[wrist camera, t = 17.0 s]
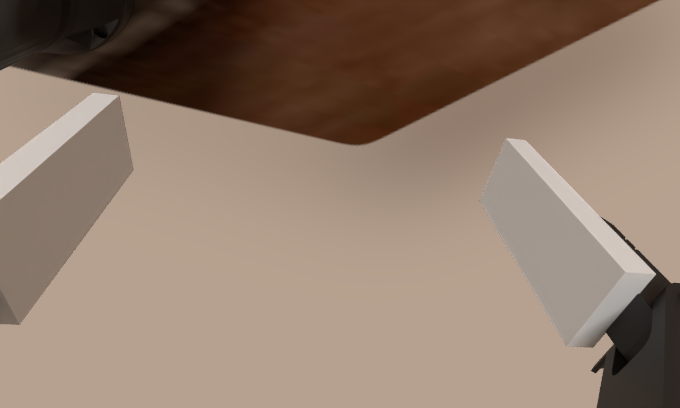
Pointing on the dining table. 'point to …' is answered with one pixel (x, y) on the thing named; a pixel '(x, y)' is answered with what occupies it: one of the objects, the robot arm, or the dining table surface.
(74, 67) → the dining table surface
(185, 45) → the dining table surface
